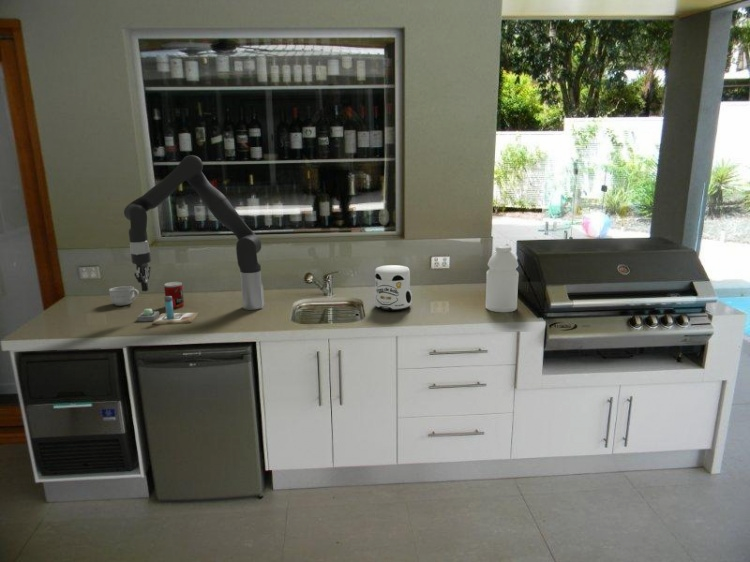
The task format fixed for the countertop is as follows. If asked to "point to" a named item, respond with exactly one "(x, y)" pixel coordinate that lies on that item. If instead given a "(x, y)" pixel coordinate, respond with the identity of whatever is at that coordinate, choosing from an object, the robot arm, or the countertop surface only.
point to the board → (176, 318)
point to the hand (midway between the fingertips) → (145, 290)
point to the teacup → (123, 295)
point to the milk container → (392, 287)
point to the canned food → (175, 293)
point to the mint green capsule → (148, 312)
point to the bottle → (502, 281)
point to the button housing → (148, 317)
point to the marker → (169, 307)
